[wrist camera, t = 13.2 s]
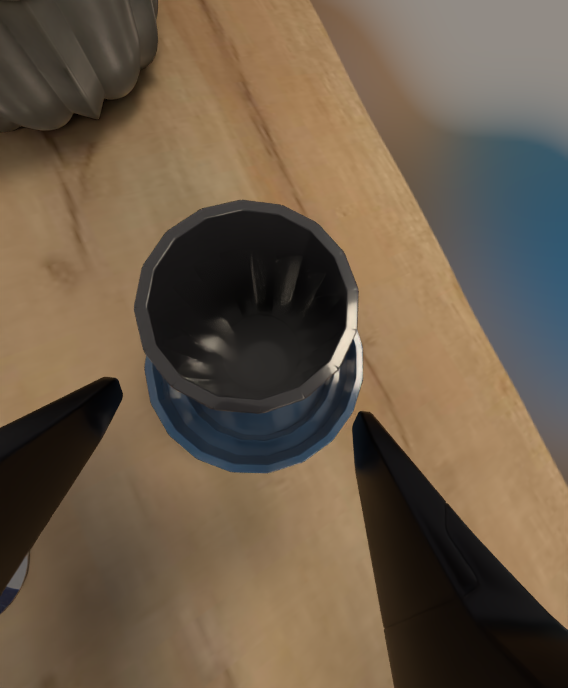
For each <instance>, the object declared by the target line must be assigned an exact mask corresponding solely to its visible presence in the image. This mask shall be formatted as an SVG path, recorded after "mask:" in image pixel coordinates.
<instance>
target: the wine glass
mask: <svg viewBox="0 0 568 688" xmlns="http://www.w3.org/2000/svg"><path fill="white" fill-rule="evenodd" d="M28 565H29V553H28V554H27V556H26V557H25V559H24V560H23V562H22V563H21V565H20V566H19V568H18V570H17V571H16V573H15V574H14V576H13V577H12V579H11V580H10V582H9V584H8V585H7V587H6V588H5V590H4V591H2V595H1V596H0V614H1V613H3V612H4V611H5V610H6V609H7V608H8V606H9V605H10V604H11V603H12V602H13V600H14V599H15V598H16V596H17V595H18V593H19V591H20V589H21V587H22V585H23V583H24V581H25V578H26V575H27V571H28Z"/></svg>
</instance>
